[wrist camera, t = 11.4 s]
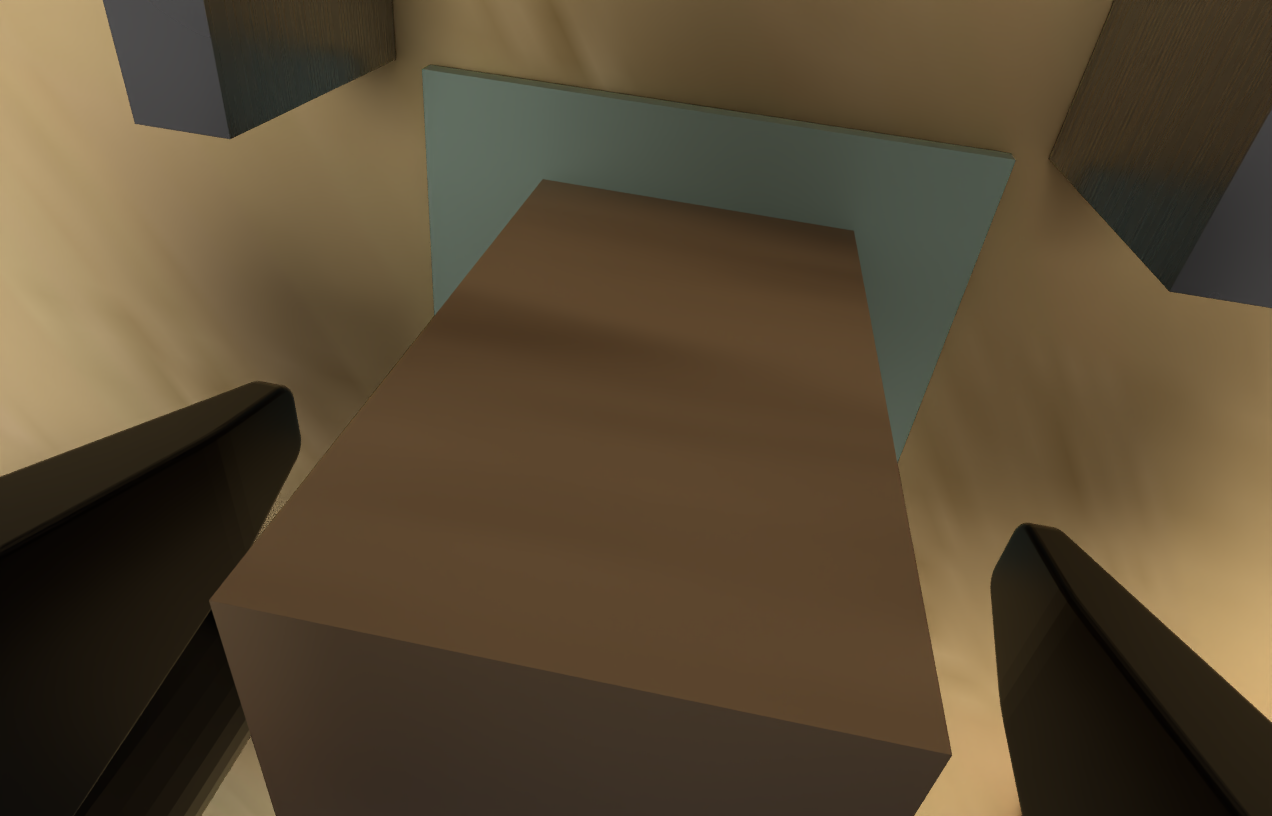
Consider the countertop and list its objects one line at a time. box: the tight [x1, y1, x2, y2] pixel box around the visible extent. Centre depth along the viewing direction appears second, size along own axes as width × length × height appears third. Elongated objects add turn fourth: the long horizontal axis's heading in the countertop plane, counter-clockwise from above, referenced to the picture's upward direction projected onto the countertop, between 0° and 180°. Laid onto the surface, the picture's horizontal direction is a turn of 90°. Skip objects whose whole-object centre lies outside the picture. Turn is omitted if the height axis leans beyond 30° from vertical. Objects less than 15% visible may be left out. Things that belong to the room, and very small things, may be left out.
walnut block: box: [209, 179, 952, 816], centre depth 9 cm, size 4×4×8 cm
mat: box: [422, 65, 1016, 463], centre depth 13 cm, size 7×8×1 cm
